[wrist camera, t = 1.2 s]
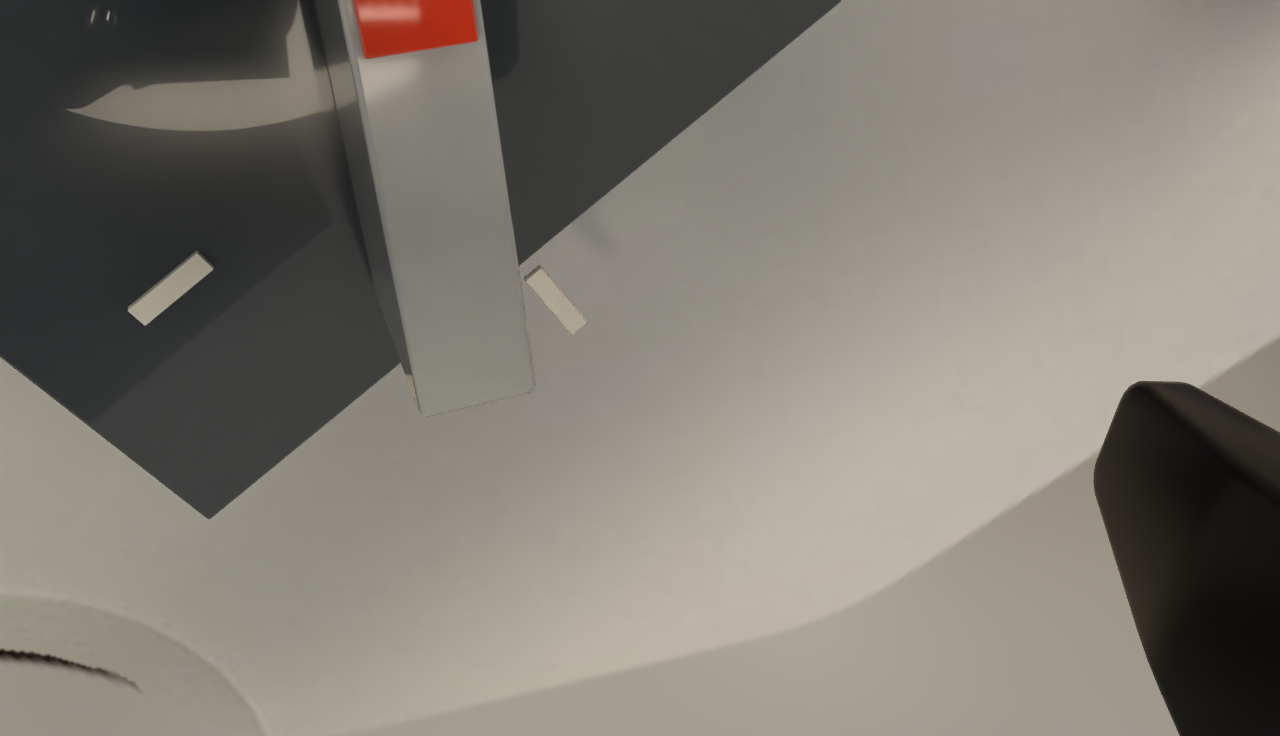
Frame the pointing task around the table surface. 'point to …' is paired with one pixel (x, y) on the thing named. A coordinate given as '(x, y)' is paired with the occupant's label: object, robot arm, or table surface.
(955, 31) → the table surface
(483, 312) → the grey and red block
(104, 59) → the dark grey flat block
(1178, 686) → the robot arm
